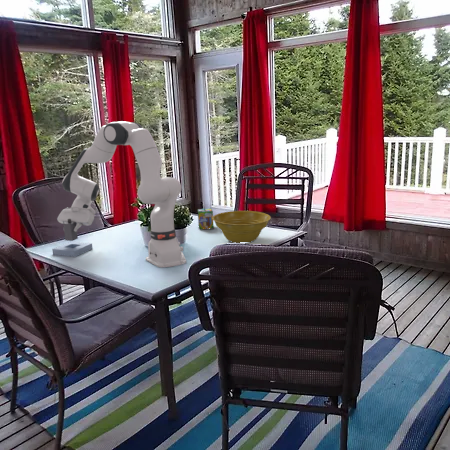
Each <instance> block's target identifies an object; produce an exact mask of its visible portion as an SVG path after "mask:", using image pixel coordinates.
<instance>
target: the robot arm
mask: <svg viewBox="0 0 450 450" xmlns="http://www.w3.org/2000/svg"><path fill="white" fill-rule="evenodd" d="M117 146H130V147H131V149H132V151H133V154H134V157H135V160H136V162H137V165H138V169H139V172H140V183H139V186H138V187H137V196H138V199H139V201H140V202H142V204H147V205H154V206H153V209H152V210H151V213H150V238H151V239H150V240H149V241H148V243H147V246H148V247H147V248H148V251H147V252H148V253H147V254H148V256H146V257H145V261H147V262H148V263H150V264H152V265H154V266H156V267H157V268H171V267H177V266H182V265H185V264H187V259H186V257H185V254H184V253H183V251H184V246H181V242H179V240H178V237H177V234H176V232H177V231H176V228H175V223H174V221H175V220H174V219H175V217H174V215H175V206H176V203H177V199H178V196H179V195H180V193H181V192H182V185H181V184H182V183H181V182H180V181H179V179H177V178H176V177H171V176H165V177H161V168H162V166H163V160H162V157H161V154H160V152H159V149H158V146H157V145H156V142H155V140H154V138H153V136H152V134H151V132H150V131H149V130H148V129H147V128H144V127H143V126H142V125H141V124H139V123H138V122H135V121H132V122H130V121H123V120H121V121H112V122H109V123H107V124H105V125H102V126H101V127H100V129H99V130H98V131H97V133H96V135H95V137H94V139H93V142H92V144H91V146H89V147H87V148H84V149H83V150H82V151H81V152H80V154H79V155H78V157H77V158H76V160H75V162H74V163H73V164H72V166H71V168H70V169H69V171H68V173H67V174H66V175H65V176H64V177H63V179H62V181H61V186H62V188H63V190H64V191H65V192H68V193H71V194H75V195H76V198H75V199H74V200H73V202H72V204H71V207H65V208H64V209H62V210H61V211H60V213H59V214H58V216H57V218H56V219H57V222H58V223H60V224H63V223H66V222H68V219H71V222H76V227H73V229H72V230H73V231H74V232H77V233H78V230H79V229H80V228H81V227H82V226H91V225H92V224H93V222H94V220H95V215H96V214H97V212H96V210H95V209H94V208H93V207H92V206H91V205H92V203H93V202H94V201H95V200H97V197H98V195H99V193H100V192H101V191H100V190H101V188H100V185H99V184H98V183H97V182H94V180H91V179H88V178H85V177H83V176H80V175H79V174H78V173H79V171H81V168H83V165H85V164H91V163H92V164H104V163H108V162H109V161H111V159H112V158H113V156H114V154H115V152H116V149H117ZM63 231H64V227H63Z"/></svg>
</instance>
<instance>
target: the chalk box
mask: <svg viewBox="0 0 450 450" xmlns="http://www.w3.org/2000/svg"><path fill="white" fill-rule="evenodd" d="M202 207H203V208H198V209H197V219H198V222H197V223H198V224H197V225H198V226H199V227H198V230H199V229H203V230H210V229H209V228H214V229H215V227H214V226H215V225H214V220H213V219H212V217H213V216H214V213H213V209H212V208H205V206H204V204H202Z"/></svg>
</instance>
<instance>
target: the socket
mask: <svg viewBox="0 0 450 450" xmlns="http://www.w3.org/2000/svg"><path fill="white" fill-rule="evenodd" d="M93 249H94V248H93V243H91V242H83V241H82V242H80V241H69V242H66V243H64V244H60V245H58V246H56V247H53V248H52V255H56V256H63V257H64V256H65V257H73V258H74V257H75V258H76V257H78V256H80V255H82V254H84V253H87V252H88V251H90V250H93Z"/></svg>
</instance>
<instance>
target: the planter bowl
mask: <svg viewBox="0 0 450 450" xmlns="http://www.w3.org/2000/svg"><path fill="white" fill-rule="evenodd" d="M212 219H213V222H214V223H215V225H216V227H217V228H218V229H219V230H220V231H221V232H222V234H223V235H224V237H225V239H226V240H227V241H229V242H230V241H232V242H231V243H233V242H236V243H235V244H241V243H240V242H250V243H252V242H251V241H253V242H254V241H255V240H257V239H258V237H259V236H260V234H261V233H262V230H263V229H265V228H267V225H268V223H269V221H271V219H272V216H271V215H269V214H267V213H264V212H260V211H252V210H232V211H224V212H220V213H218V214H215V215H214V214H213V217H212Z"/></svg>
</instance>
